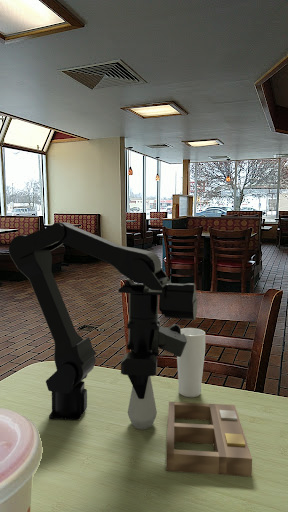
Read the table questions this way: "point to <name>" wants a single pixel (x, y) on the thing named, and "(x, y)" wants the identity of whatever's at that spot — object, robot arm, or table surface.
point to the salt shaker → (142, 408)
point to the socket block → (208, 440)
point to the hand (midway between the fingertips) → (142, 392)
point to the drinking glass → (191, 362)
